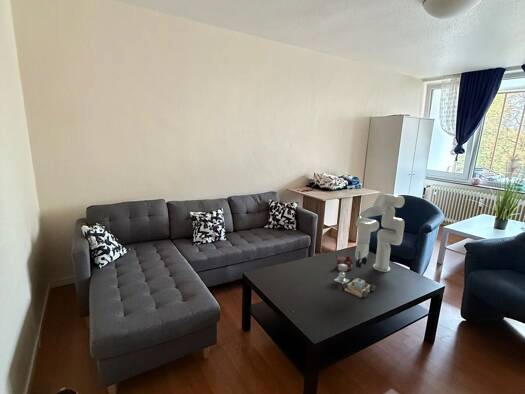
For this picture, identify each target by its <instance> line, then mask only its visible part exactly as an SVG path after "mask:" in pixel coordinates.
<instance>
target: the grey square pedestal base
mask: <svg viewBox="0 0 525 394" xmlns="http://www.w3.org/2000/svg"><path fill="white" fill-rule="evenodd" d="M333 281H334V282H336V283H338V284H340V285H343V283H344V282H345V283H350V282H351V279H348V278H346V271H339V275H338V277H336V278H334V279H333Z"/></svg>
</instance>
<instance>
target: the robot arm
mask: <svg viewBox="0 0 525 394" xmlns="http://www.w3.org/2000/svg"><path fill="white" fill-rule="evenodd" d="M405 202H406V201H405V198H404V196H402V195H397V194H391V193H380V194H378V196H377V197H376V198H375V201H374V203H373V205H372V206H370V207H368V208H366V209H364V210H363V211H361V212H360V214H359V215H358V217H357V218H356V221H355V224H356V227H357V228H358V230H357V239H356V242H357V243H356V247H355V252H354V253H355V254H354V259H355V267H356V268H359V269H361V268H362V264H363V265H367V261H368V255H369V250H370V241H371V234H372V233H373V232H376V231H377V235H376V236H377V246H376V247H377V248H376V255H375V257H376V258H375V263H373V265H372V267H373V269H374V270H376V271H378V272H382V273H383V272H384V273H386V272H387V273H388V272H390V271H391V267H390V266H389V264H390V258H391V257H390V256H391V249H392V248H391V245H394V246H400V245H401V244H403V243H402V242H403V239H404V238H403V237H404V231H405V220H404V219H402V218H400V217H396V209H398V208H399V209H401V208H402V207H403V206H404V205H405ZM395 208H396V209H395ZM377 216H381V221H380V222H381V223H380V222H379V221H378V220H376V219H372V218H370V217H377ZM380 224H381V227H382V228H384V229H379V228H380Z"/></svg>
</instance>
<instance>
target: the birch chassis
mask: <svg viewBox="0 0 525 394" xmlns="http://www.w3.org/2000/svg"><path fill="white" fill-rule="evenodd" d="M356 279H357V278H356V277H354V276H352V277H351V278H350V282H347V283H345V282H344V283H343V284H342V288H343V289H344V291H345V292H347V293H350V294H352V295H354V296H355V297H359V298H361V299H362V298H365V299H366V298H367V297H368V295H369V292H370V291H371V292H375V291H376V285H374V284H369V283H366V282H365V285H364V289H363V290H361V289H359V288H356V287H354V281H355V280H356Z"/></svg>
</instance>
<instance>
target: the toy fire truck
mask: <svg viewBox="0 0 525 394" xmlns="http://www.w3.org/2000/svg"><path fill="white" fill-rule="evenodd" d="M336 259H337V260H336V266H337V267H339V264H346V265H347V271H350V270H351V269H352V268H353V267H354V262H353V261H352V258H351V257H350V255H347V256H346V255H336Z"/></svg>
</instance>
